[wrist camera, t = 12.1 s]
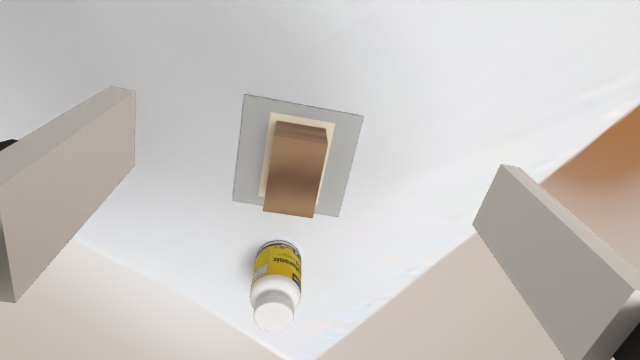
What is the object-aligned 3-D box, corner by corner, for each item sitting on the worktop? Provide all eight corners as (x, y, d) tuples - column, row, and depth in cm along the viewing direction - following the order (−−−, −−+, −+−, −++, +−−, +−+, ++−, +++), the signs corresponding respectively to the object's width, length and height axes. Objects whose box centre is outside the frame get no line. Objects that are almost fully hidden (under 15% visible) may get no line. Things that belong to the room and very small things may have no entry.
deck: (276, 120, 40) (273, 135, 35) (325, 128, 40) (328, 144, 36) (266, 189, 43) (262, 210, 39) (311, 196, 43) (312, 218, 39)
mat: (233, 199, 44) (232, 201, 43) (245, 94, 39) (244, 95, 38) (338, 215, 45) (338, 217, 45) (363, 115, 40) (363, 117, 40)
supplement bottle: (310, 257, 48) (312, 318, 39) (280, 282, 49) (274, 346, 41) (277, 230, 46) (271, 288, 37) (247, 258, 48) (234, 319, 39)
